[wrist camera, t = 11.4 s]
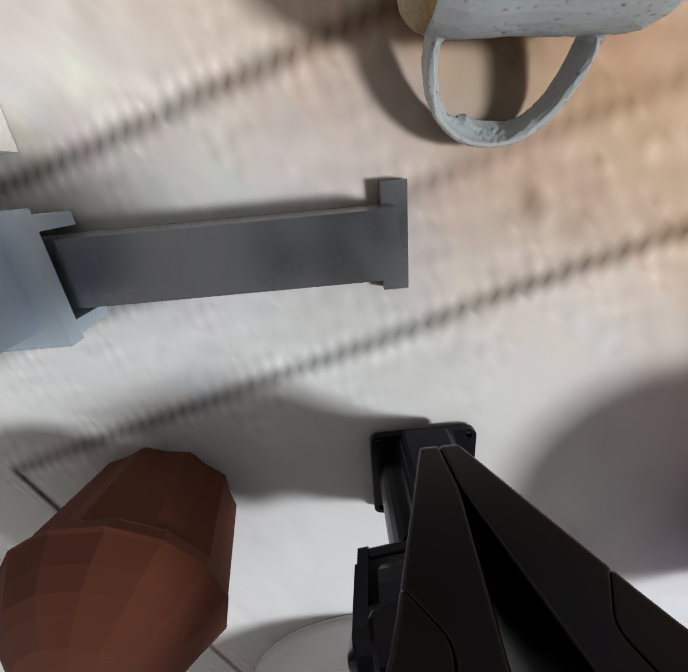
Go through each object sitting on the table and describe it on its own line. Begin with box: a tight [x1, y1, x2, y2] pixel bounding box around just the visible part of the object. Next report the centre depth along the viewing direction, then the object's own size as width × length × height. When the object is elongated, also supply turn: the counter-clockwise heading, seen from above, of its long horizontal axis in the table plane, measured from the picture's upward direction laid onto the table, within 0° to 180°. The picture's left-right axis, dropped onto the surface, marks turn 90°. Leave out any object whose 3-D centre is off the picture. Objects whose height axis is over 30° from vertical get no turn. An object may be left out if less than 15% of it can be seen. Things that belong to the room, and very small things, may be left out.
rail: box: [41, 179, 408, 309], centre depth 17 cm, size 5×26×2 cm, turn 95°
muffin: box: [0, 448, 236, 672], centre depth 20 cm, size 12×11×10 cm
